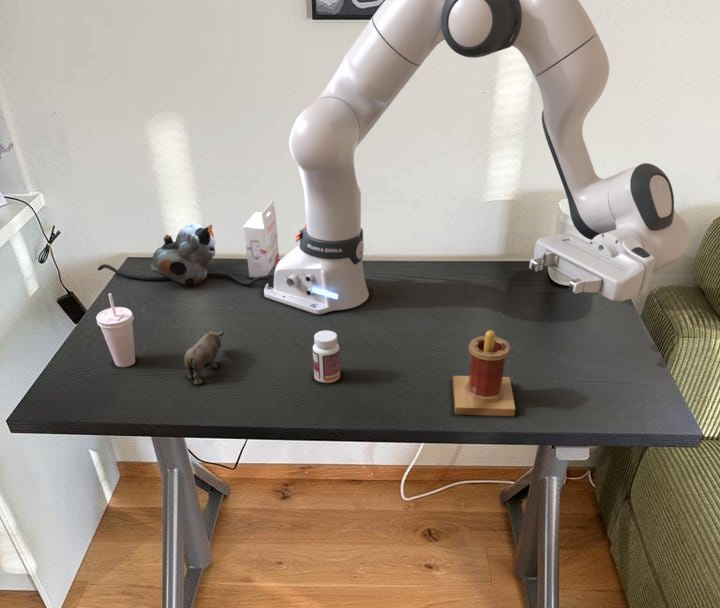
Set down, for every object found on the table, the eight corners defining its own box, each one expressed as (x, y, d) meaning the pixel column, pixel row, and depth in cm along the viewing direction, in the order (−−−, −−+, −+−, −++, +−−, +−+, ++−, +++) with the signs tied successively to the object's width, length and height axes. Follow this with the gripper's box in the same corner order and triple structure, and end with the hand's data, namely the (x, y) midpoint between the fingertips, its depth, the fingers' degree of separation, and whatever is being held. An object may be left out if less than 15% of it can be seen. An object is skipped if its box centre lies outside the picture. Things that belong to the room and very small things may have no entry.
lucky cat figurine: (160, 262, 176) (181, 204, 170) (209, 285, 177) (230, 228, 172) (139, 271, 162) (160, 209, 157) (191, 296, 163) (214, 235, 158)
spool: (460, 397, 130) (464, 351, 125) (471, 378, 135) (476, 333, 129) (497, 405, 128) (504, 359, 123) (507, 386, 133) (514, 340, 127)
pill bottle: (343, 372, 139) (343, 331, 134) (334, 385, 136) (333, 344, 131) (319, 367, 141) (318, 327, 135) (310, 381, 137) (307, 339, 132)
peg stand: (454, 414, 129) (461, 345, 120) (452, 382, 137) (458, 315, 128) (514, 416, 129) (525, 347, 120) (508, 384, 136) (518, 316, 128)
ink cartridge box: (259, 261, 176) (253, 197, 167) (280, 263, 175) (275, 199, 166) (247, 277, 170) (241, 212, 160) (269, 279, 169) (263, 214, 159)
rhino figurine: (233, 348, 146) (230, 320, 142) (202, 386, 136) (198, 357, 132) (214, 345, 147) (210, 317, 143) (181, 383, 137) (176, 353, 133)
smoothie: (112, 374, 139) (94, 304, 130) (103, 358, 143) (86, 289, 134) (146, 365, 141) (131, 296, 132) (137, 349, 146) (122, 281, 137)
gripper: (572, 219, 135) (512, 236, 130) (663, 261, 122) (600, 281, 116) (566, 253, 139) (507, 270, 134) (653, 298, 126) (592, 319, 120)
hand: (551, 276), depth 125 cm, fingers open, 8 cm apart
